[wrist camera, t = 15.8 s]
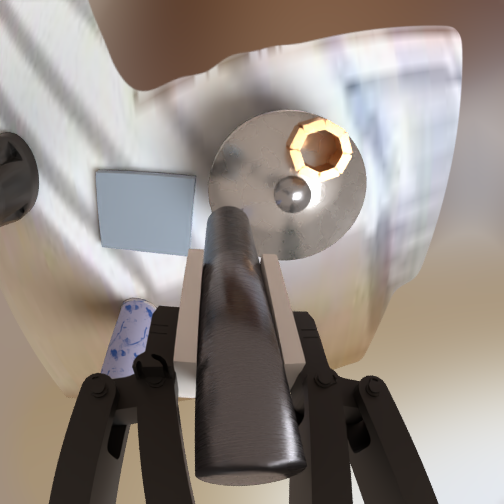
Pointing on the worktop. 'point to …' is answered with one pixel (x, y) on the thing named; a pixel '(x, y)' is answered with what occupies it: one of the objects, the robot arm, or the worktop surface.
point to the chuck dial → (290, 181)
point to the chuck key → (240, 367)
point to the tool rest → (145, 211)
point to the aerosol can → (128, 337)
